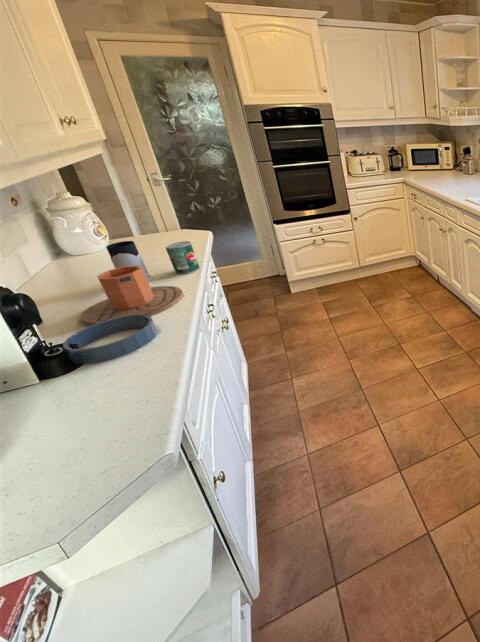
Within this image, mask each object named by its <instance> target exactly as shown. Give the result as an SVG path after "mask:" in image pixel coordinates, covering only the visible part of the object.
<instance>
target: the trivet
mask: <svg viewBox="0 0 480 642" xmlns="http://www.w3.org/2000/svg"><path fill="white" fill-rule="evenodd" d="M150 288H151V290H152V292H153V294H154V298H153V300H152V301H150V302H149V303H147V304H145V305H142V306H139V307H136V308H132V309H127V310H116V309H114V308H113V307H112V306H111V304H110V302H109V300H108V298H106V299H104V300H100V301H98V302H97V303H95V304H93V305H91V306H89V307H88V308H87V309H85V310H83V312H82V313H81V314H80V321H81V323H82V324H83V326H85V327H86V328H87V327H89V326H92V325H94V324H97V323H100V322H103V321H106V320H110V319H114V318H118V317H123V316H130V315H147V316H150V317H152V316H155V315H158V314H160V313H162V312H164V311H166V310H169V309H171V308H172V307H174V306H175V305H177V304H179V303H180V302H181V301H182V300H183V298H185V294H184V292H183V290H182V288H180V287H178V286H172V285H171V286H170V285H160V286H152V287H151V286H150Z"/></svg>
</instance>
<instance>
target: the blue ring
mask: <svg viewBox="0 0 480 642" xmlns="http://www.w3.org/2000/svg"><path fill="white" fill-rule="evenodd" d="M138 329H140V330H138ZM129 330H138V331H137V332H134V333H133V334H131V335H129V336H126V337H124V338H122V339H119V340H116V341H115V340H114V341H112V342H110V343H106V344H101V345H98V346H93V347H87V348H84V347H85V346H88V345H90V344H91V343H92V342H95V341H97V340H100V339H102V338H104V337H107V336H109V335H113V334H116V333H120V332H125V331H129ZM158 333H159V331H158V329H157V327H156V325H155V323H154V320H153V318H152V316H147V315H130V316H123V317H118V318H114V319H110V320H106V321H103V322H100V323H97V324H94V325H92V326H89V327H87V326H86V327H84V328H83V329H80V330H78V331H76V332H75V333H73V334H72V335H70V336H69V337H67V338H66V339H65V341H63V343H62V348H63V350H64V351H65V353H66V352H67V353H68V354H69V355H70V356H71V357H72V358H73V359H71V358H69V361H70V362H73V364H77V365H80V364H81V365H88V364H96V363H102V362H105V361H110V360H115V359H118V358H119V357H123V356H125V355H128V354H130V353H133V352H135V351H138V350H140V349H141V348H143V347H145V346H146V345H148V344H149V343H151V342H152V341H153V340H154V339H155V338H157V336H158ZM69 344H78V345H79V349H72V348H70V347H69V346H70V345H69ZM67 353H66V354H67Z"/></svg>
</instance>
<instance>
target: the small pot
mask: <svg viewBox="0 0 480 642" xmlns="http://www.w3.org/2000/svg"><path fill="white" fill-rule="evenodd" d="M96 279H98V281H99V283H100V285H101V287H102V289H103V292H104V294H105V295H106V297H107V298H106V299H108V300H109V302H110V304H111V306H112V307H113V308H114V309H116V310H127V309H132V308H136V307H139V306H142V305H145V304H147V303H149V302H150V301H152V300H153V298H154V294H153V292H152V290H151V288H150V287H151V285H150V283H149V282H148V281H147V279H146V276H145V274H144V272H143V270H142V268H141V267H140V266H125V267H120V268H116V269H115V268H113V269H108V270H106V271H104V272H101V273H100V274H98V275H97V276H96Z"/></svg>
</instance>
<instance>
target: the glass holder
mask: <svg viewBox="0 0 480 642" xmlns="http://www.w3.org/2000/svg"><path fill="white" fill-rule="evenodd" d="M105 248H106V250H107V252H108V254H109V257H110V260H111V263H112V265H113V267H114V269H116V268H120V267H125V266H140V267H141V268H142V270H143V272H144V274H145V276H146V279H147V281H148V283H149V282H151V281H152V280H153V277H152V276H151V275H150V274H149V272H148V270H147V266H146V265H145V263H144V260H143V257H142V255H141V254H140V252H139V250H138V248H137V246H136V243H135V241H134V240H123V241H118V242H114V243H111V244H108V245H106V246H105Z"/></svg>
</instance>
